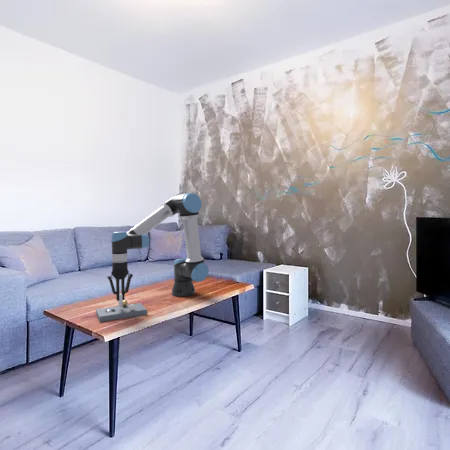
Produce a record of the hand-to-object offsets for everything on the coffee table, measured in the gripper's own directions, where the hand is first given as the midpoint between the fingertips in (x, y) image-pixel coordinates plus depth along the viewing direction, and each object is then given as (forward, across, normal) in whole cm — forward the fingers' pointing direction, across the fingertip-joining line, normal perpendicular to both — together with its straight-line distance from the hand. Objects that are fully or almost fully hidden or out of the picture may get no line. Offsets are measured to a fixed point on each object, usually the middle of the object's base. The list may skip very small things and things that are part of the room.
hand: (120, 306), depth 165 cm
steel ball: (+2, +6, 0) cm, 6 cm away
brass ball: (0, -3, -5) cm, 6 cm away
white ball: (0, -5, +5) cm, 7 cm away
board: (+4, 0, 0) cm, 4 cm away
